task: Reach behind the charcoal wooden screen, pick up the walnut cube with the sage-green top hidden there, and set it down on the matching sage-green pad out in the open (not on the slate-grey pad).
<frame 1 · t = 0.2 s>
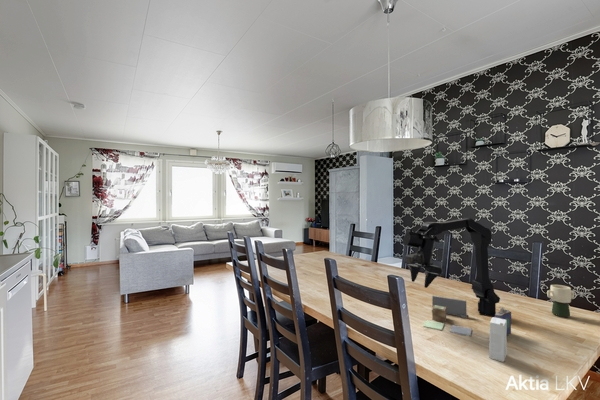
hand: (419, 284, 133), 15 cm above the table, tool pointing down, fingers open, 9 cm apart
screen: (449, 313, 138), on the table
slate pad: (461, 330, 119), on the table
skincare box: (498, 357, 100), on the table
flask: (502, 335, 115), on the table
green pad: (433, 325, 125), on the table
character mug: (560, 316, 135), on the table
letter cube: (439, 319, 132), on the table
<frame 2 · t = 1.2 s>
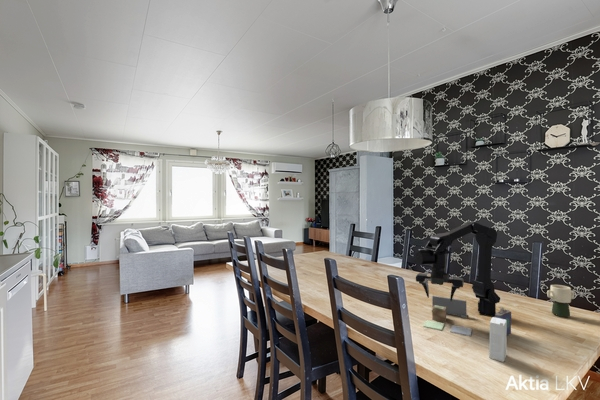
hand: (439, 299, 132), 9 cm above the table, tool pointing down, fingers open, 9 cm apart
nothing on the table moved.
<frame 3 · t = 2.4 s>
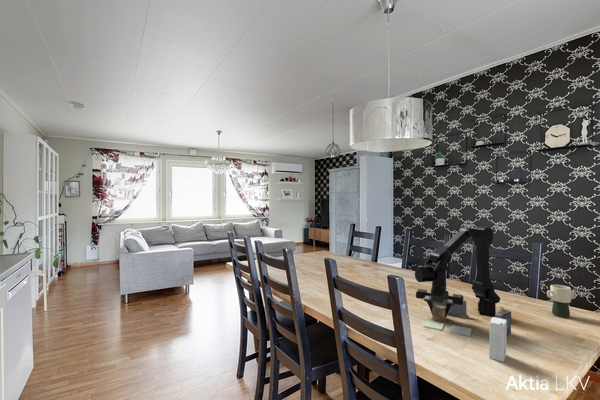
hand: (439, 316, 132), 1 cm above the table, tool pointing down, fingers closed on letter cube, 5 cm apart
letter cube: (439, 318, 132), on the table, touching gripper
everything else where it was.
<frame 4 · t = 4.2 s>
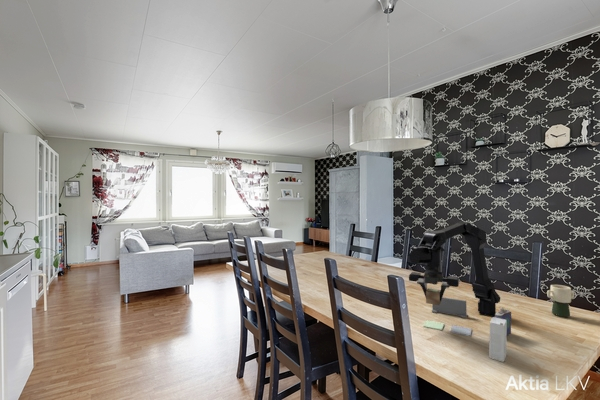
hand: (433, 299, 125), 11 cm above the table, tool pointing down, fingers closed on letter cube, 5 cm apart
letter cube: (433, 302, 125), point 10 cm above the table, touching gripper
everything else where it was.
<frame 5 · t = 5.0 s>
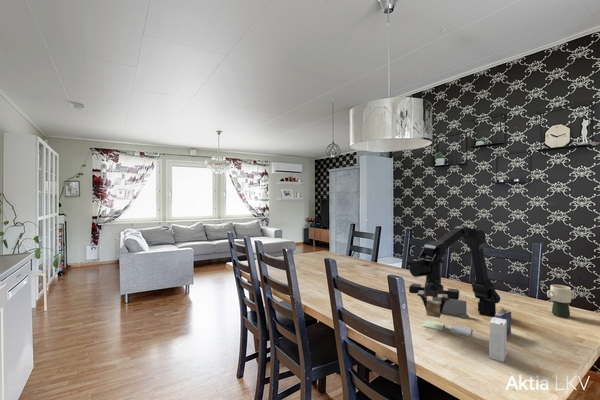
hand: (433, 311, 125), 6 cm above the table, tool pointing down, fingers closed on letter cube, 5 cm apart
letter cube: (433, 314, 125), point 5 cm above the table, touching gripper
everything else where it was.
when the fingers open (3 cm above the table, at t = 5.9 s): letter cube drops 2 cm, resting on green pad.
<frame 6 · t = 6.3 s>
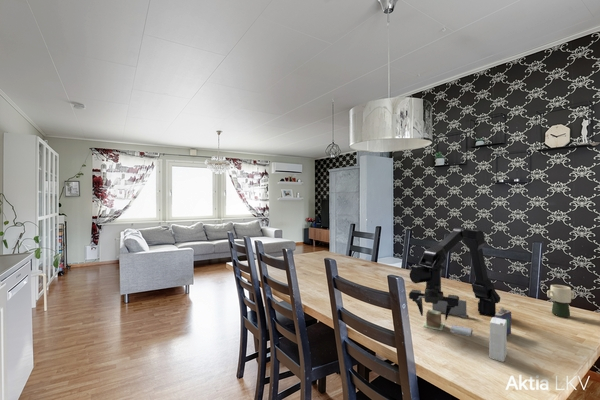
hand: (433, 317, 125), 3 cm above the table, tool pointing down, fingers open, 9 cm apart
letter cube: (433, 324, 125), resting on green pad
everything else where it was.
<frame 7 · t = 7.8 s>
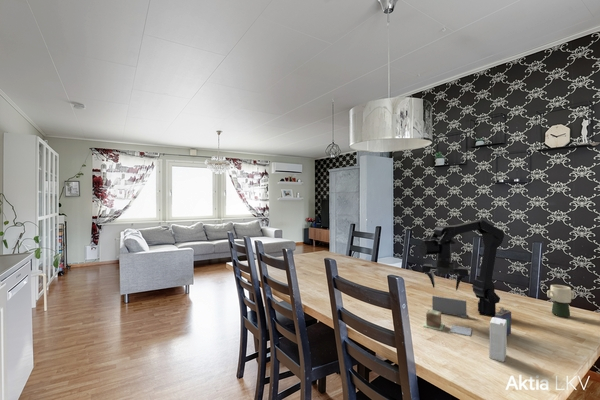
hand: (445, 288, 134), 13 cm above the table, tool pointing down, fingers open, 9 cm apart
nothing on the table moved.
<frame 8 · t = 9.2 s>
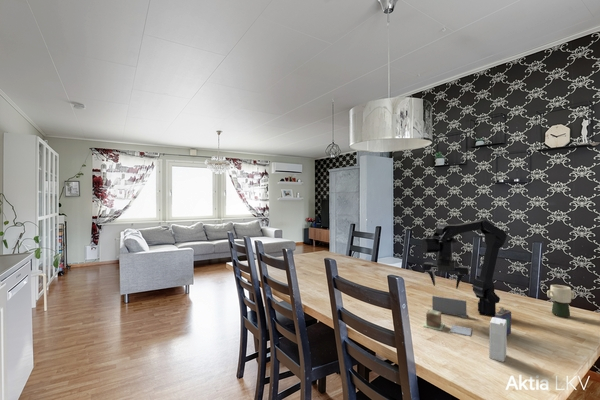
hand: (445, 287, 135), 13 cm above the table, tool pointing down, fingers open, 9 cm apart
nothing on the table moved.
at the end: letter cube inside the target area on the green pad (0.0 cm from its centre), point 0.4 cm above the green pad's base; letter cube tilted 0°; the gripper is holding nothing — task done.
